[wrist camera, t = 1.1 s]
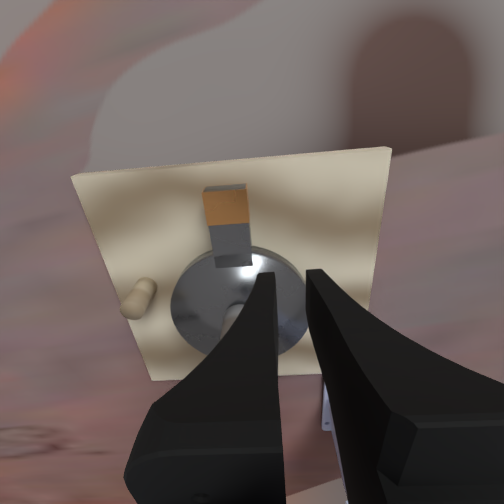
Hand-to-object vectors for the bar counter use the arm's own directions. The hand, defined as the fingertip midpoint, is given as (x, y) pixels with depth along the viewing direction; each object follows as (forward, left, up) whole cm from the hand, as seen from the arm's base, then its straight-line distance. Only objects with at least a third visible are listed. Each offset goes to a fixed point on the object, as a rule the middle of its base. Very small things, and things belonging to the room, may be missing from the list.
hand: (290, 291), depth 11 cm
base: (-6, +3, -9) cm, 12 cm away
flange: (-4, +3, -7) cm, 9 cm away
